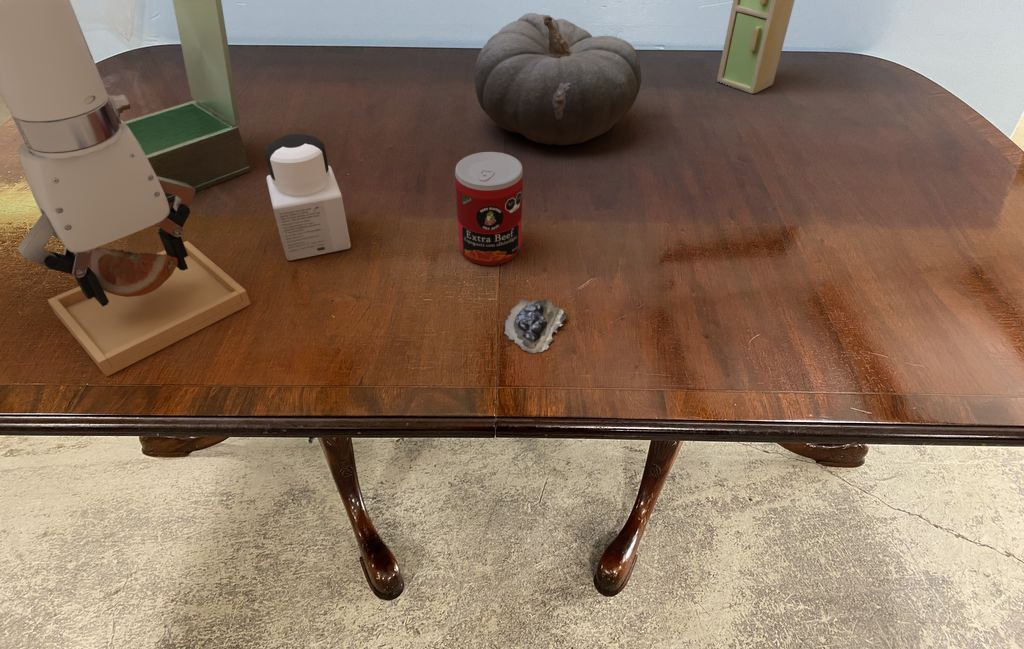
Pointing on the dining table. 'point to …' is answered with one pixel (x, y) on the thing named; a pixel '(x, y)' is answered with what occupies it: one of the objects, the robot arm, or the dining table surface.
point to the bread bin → (191, 145)
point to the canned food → (489, 207)
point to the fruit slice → (130, 271)
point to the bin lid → (207, 55)
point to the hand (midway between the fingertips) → (140, 280)
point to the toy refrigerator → (754, 43)
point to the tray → (150, 313)
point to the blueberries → (533, 324)
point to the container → (305, 197)
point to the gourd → (556, 80)
